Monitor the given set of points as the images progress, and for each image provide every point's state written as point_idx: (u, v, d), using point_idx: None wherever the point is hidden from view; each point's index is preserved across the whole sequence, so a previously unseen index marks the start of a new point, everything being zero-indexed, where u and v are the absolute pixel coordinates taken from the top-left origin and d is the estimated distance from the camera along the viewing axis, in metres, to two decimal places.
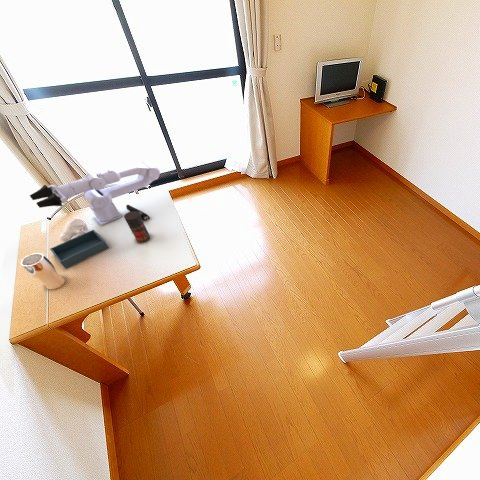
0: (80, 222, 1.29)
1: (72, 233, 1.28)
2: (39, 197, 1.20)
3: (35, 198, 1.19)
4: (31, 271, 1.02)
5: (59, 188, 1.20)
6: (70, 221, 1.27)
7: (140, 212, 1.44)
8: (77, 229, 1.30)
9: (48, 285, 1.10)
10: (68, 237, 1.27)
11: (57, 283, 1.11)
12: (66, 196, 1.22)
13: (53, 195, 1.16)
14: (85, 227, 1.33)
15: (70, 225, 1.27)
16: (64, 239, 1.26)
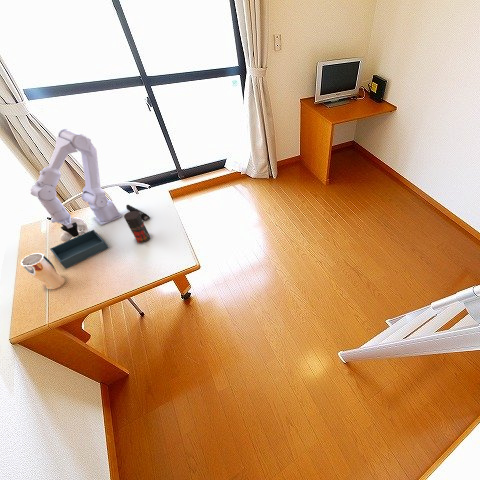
0: (80, 222, 1.29)
1: None
2: None
3: None
4: (31, 271, 1.02)
5: (55, 219, 1.21)
6: None
7: (140, 212, 1.44)
8: (77, 229, 1.30)
9: (48, 285, 1.10)
10: (68, 237, 1.27)
11: (57, 283, 1.11)
12: (65, 216, 1.23)
13: (63, 229, 1.22)
14: (85, 227, 1.33)
15: None
16: (64, 239, 1.26)
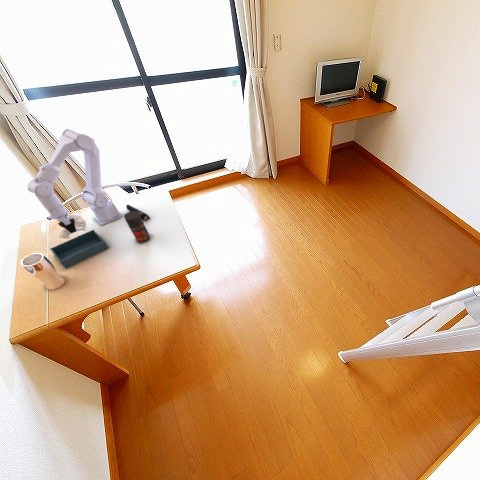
0: (79, 220, 1.28)
1: None
2: None
3: None
4: (31, 271, 1.02)
5: (52, 216, 1.20)
6: (69, 218, 1.26)
7: (140, 212, 1.44)
8: (76, 226, 1.28)
9: (48, 285, 1.10)
10: (66, 234, 1.26)
11: (57, 283, 1.11)
12: (63, 213, 1.21)
13: (60, 225, 1.21)
14: (84, 224, 1.31)
15: None
16: (62, 236, 1.25)
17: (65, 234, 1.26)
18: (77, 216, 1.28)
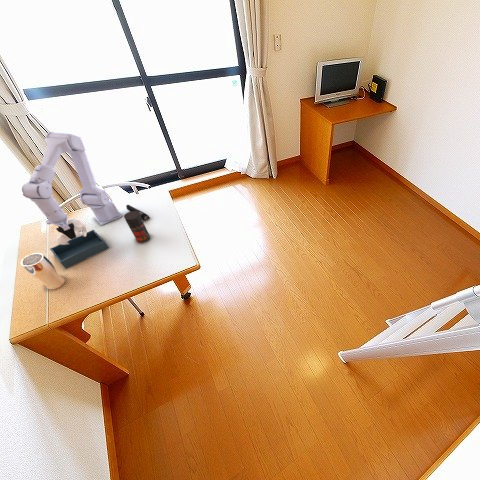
0: (79, 224, 1.19)
1: None
2: None
3: None
4: (31, 271, 1.02)
5: (50, 221, 1.11)
6: (68, 223, 1.17)
7: (140, 212, 1.44)
8: (75, 231, 1.19)
9: (48, 285, 1.10)
10: (65, 240, 1.17)
11: (57, 283, 1.11)
12: (61, 218, 1.12)
13: None
14: (84, 229, 1.22)
15: None
16: (61, 242, 1.16)
17: (64, 240, 1.17)
18: (77, 221, 1.19)
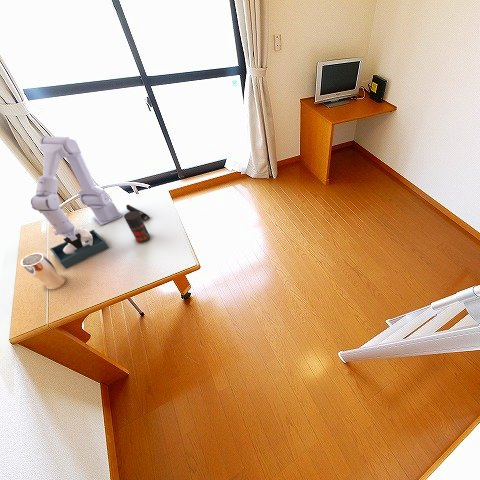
0: (85, 234, 1.21)
1: None
2: None
3: None
4: (31, 271, 1.02)
5: (58, 231, 1.14)
6: (75, 233, 1.20)
7: (140, 212, 1.44)
8: (82, 241, 1.22)
9: (48, 285, 1.10)
10: (72, 250, 1.20)
11: (57, 283, 1.11)
12: (69, 228, 1.15)
13: None
14: (91, 239, 1.25)
15: None
16: (68, 252, 1.19)
17: (71, 250, 1.19)
18: (83, 231, 1.21)
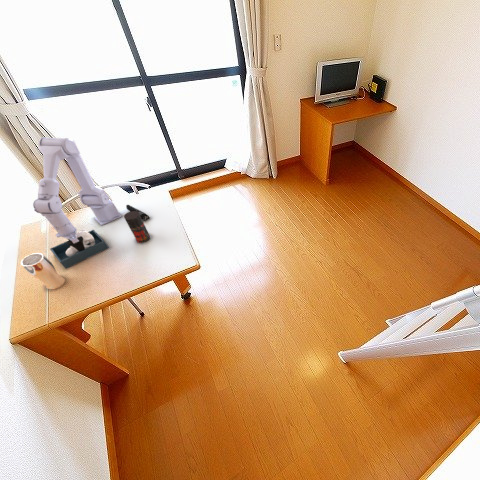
0: (87, 237, 1.23)
1: None
2: None
3: None
4: (31, 271, 1.02)
5: (59, 234, 1.15)
6: (77, 236, 1.21)
7: (140, 212, 1.44)
8: (84, 244, 1.23)
9: (48, 285, 1.10)
10: (74, 252, 1.21)
11: (57, 283, 1.11)
12: (71, 231, 1.16)
13: None
14: (93, 241, 1.26)
15: None
16: (70, 254, 1.20)
17: (73, 252, 1.20)
18: (85, 233, 1.23)
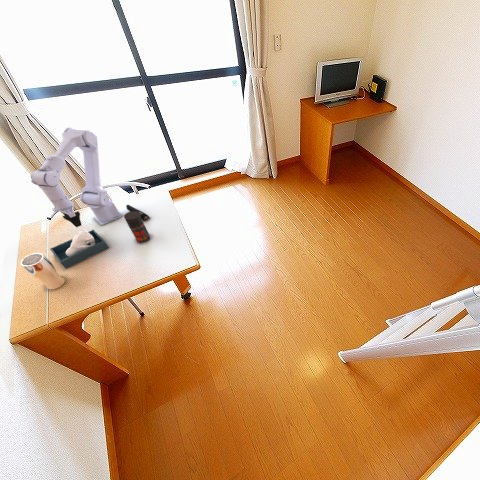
0: (87, 237, 1.23)
1: (78, 248, 1.21)
2: None
3: None
4: (31, 271, 1.02)
5: (56, 208, 1.16)
6: (77, 236, 1.21)
7: (140, 212, 1.44)
8: (84, 244, 1.23)
9: (48, 285, 1.10)
10: (74, 252, 1.21)
11: (57, 283, 1.11)
12: (67, 205, 1.17)
13: (65, 218, 1.17)
14: (93, 241, 1.26)
15: (77, 240, 1.21)
16: (70, 254, 1.20)
17: (73, 252, 1.20)
18: (85, 233, 1.23)
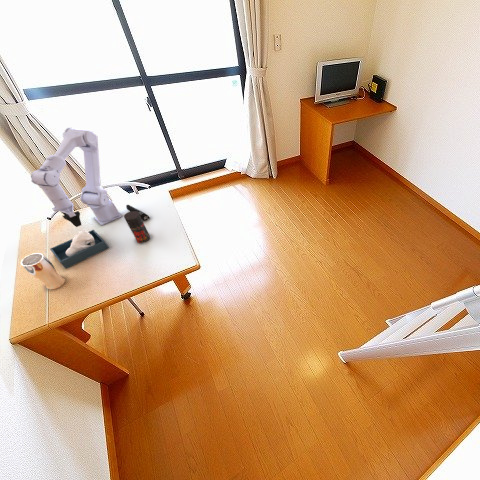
0: (87, 237, 1.23)
1: (78, 248, 1.21)
2: None
3: None
4: (31, 271, 1.02)
5: (56, 208, 1.16)
6: (77, 236, 1.21)
7: (140, 212, 1.44)
8: (84, 244, 1.23)
9: (48, 285, 1.10)
10: (74, 252, 1.21)
11: (57, 283, 1.11)
12: (67, 205, 1.17)
13: (65, 218, 1.17)
14: (93, 241, 1.26)
15: (77, 240, 1.21)
16: (70, 254, 1.20)
17: (73, 252, 1.20)
18: (85, 233, 1.23)
